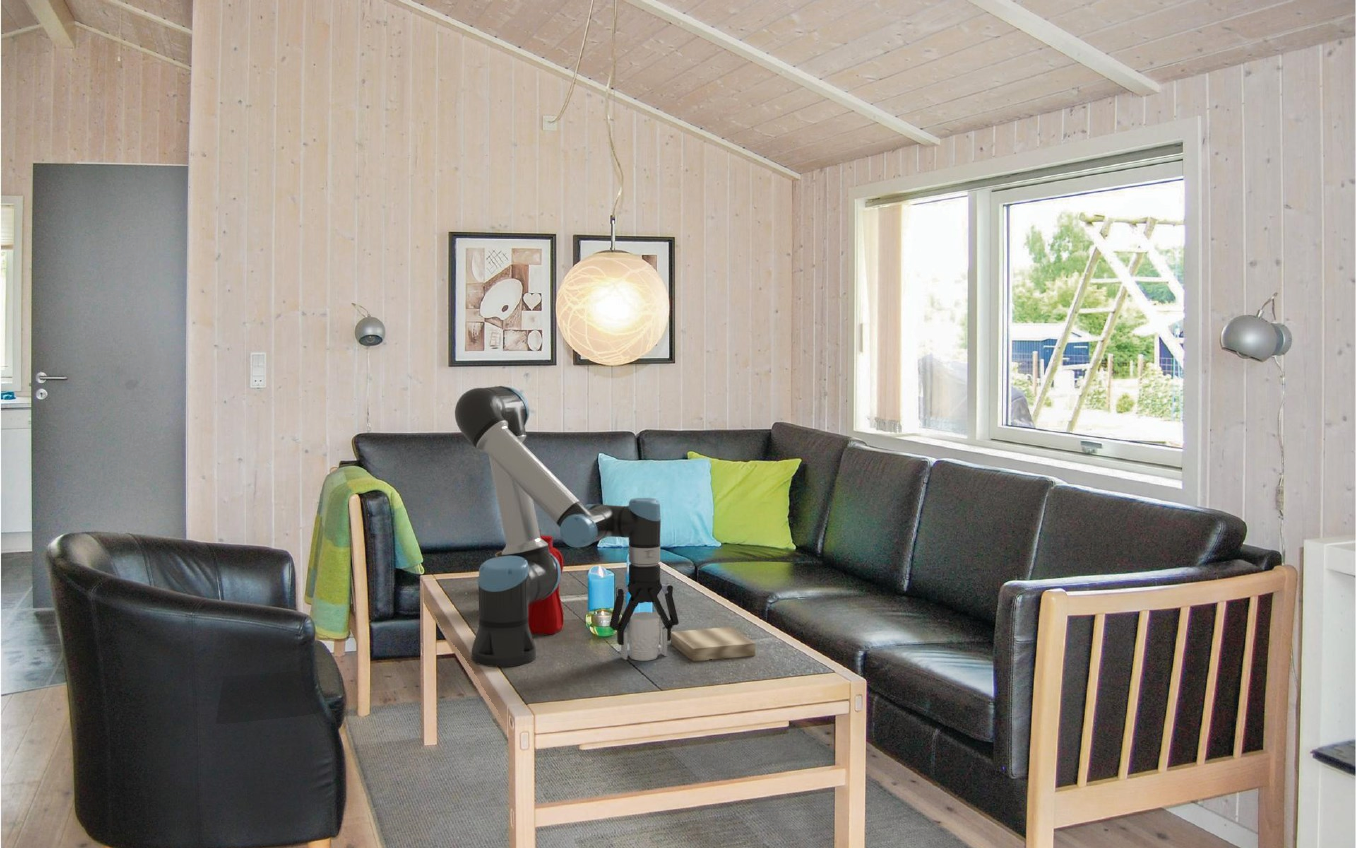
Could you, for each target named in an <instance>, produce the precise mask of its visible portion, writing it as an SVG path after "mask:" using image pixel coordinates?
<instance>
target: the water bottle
mask: <svg viewBox="0 0 1356 848" xmlns="http://www.w3.org/2000/svg"><path fill="white" fill-rule="evenodd" d="M540 538H541V539H542V540H544V541H545V542H547V543H548V547H549V552H550V553H551V554H552V555H553V556H554V557H555V558H556V559H557V560H558V562H559V565H560V568H561V576H562V574H563V570H564V557H563V556H562V553H561V552H560V551H559V550H558V548H555V547H553V544H554V543H553V536H551V535H542V534H541V535H540ZM561 579H562V578H561ZM561 579H560V582H559V585H558V587H557V588H556V589H555V591H554V592H553V593H551V594H550V595H549V596H548V597H546V598H545V599H543V600H541V601H537V602H535V603H533V604H530V605H528V625H529V629H530V632H531V635H545V636H548V635H555V634H557V633H558V632H560V630H562V629H563V626H564V621H565V620H564V609H563V605H562V601H561V596H560V584H561Z"/></svg>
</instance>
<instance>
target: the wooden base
mask: <svg viewBox="0 0 1356 848" xmlns="http://www.w3.org/2000/svg"><path fill="white" fill-rule="evenodd" d="M670 644H671V645H672V646H673V645H674V646H675V647H674V648H676V650H678V651H679V652H681V653H682V654H683V655H684V656H685V657H687V658H688V659H690V660H691V661H692V662H698V661H699V662H700V661H708V660H709V659H712V660H721V659H731V658H742V657H752V656H756V642H754V641H753V640H751V639H750V638H748V637H747V636H745V635H744V634H742V633H740V632H739V631H738V630H735V628H732V627H731V626H726V627H725V626H724V627H714V628H713V627H712V628H703V629H702V628H701V629H700V628H699V629H688V630H678V631H671V640H670ZM709 661H710V660H709Z"/></svg>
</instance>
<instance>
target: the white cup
mask: <svg viewBox="0 0 1356 848" xmlns="http://www.w3.org/2000/svg"><path fill="white" fill-rule="evenodd" d="M660 617H661V616H660V615H659V614H658V612H657V613H656V612H651V611H650V612H649V611H638V612H633V614H632V616H631V618H630V620H629V622H628V624H627V640H628V646H629V647H628V648H629V649H628V650H629V651H628V652H629V653H628V654H629V658H630V659H631V660H635V661H640V662H641V661H653V660H656V659H657V658H658V657H659V646H660V637H661V618H660Z"/></svg>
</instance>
